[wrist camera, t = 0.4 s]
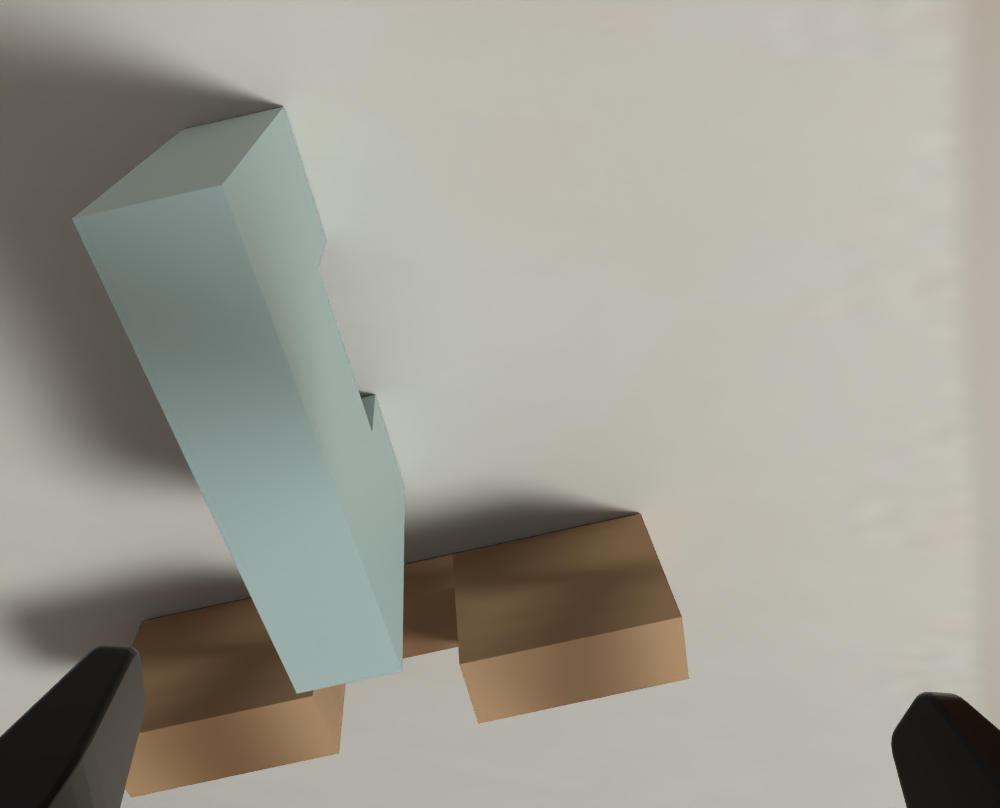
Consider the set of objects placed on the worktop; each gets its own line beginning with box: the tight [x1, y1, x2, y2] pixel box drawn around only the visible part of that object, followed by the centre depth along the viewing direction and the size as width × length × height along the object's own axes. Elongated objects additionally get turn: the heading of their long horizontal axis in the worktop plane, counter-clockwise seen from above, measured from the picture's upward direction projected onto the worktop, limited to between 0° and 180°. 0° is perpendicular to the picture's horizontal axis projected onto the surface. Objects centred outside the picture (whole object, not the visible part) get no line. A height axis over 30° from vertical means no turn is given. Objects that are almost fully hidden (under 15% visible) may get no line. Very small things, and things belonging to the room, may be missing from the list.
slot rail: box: [125, 514, 689, 797], centre depth 24 cm, size 16×2×4 cm, turn 101°
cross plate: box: [72, 107, 405, 694], centre depth 18 cm, size 2×11×7 cm, turn 11°
